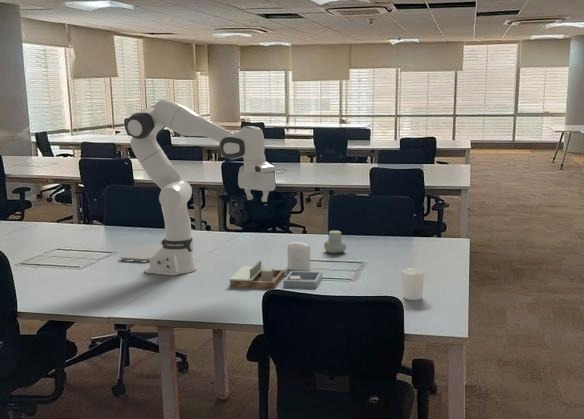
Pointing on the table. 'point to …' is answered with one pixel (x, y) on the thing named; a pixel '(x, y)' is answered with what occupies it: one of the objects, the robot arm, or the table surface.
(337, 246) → the air freshener
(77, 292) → the table surface
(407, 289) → the white cup
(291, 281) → the bin
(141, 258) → the tablet
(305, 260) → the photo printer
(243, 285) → the wooden tray
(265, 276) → the beige small block
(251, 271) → the lid
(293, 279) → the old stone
